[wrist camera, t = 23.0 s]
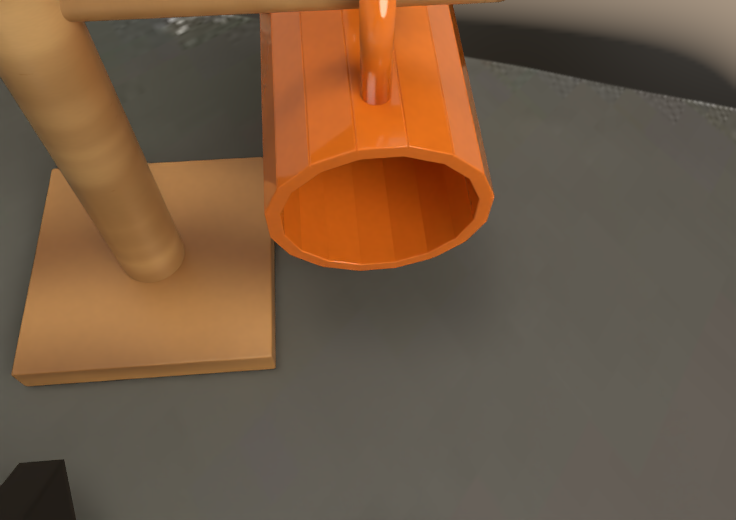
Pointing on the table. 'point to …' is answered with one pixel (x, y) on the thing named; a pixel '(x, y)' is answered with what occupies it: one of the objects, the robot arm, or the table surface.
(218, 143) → the table surface
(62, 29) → the cup rack
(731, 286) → the table surface
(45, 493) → the robot arm
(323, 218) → the orange mug
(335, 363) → the table surface
